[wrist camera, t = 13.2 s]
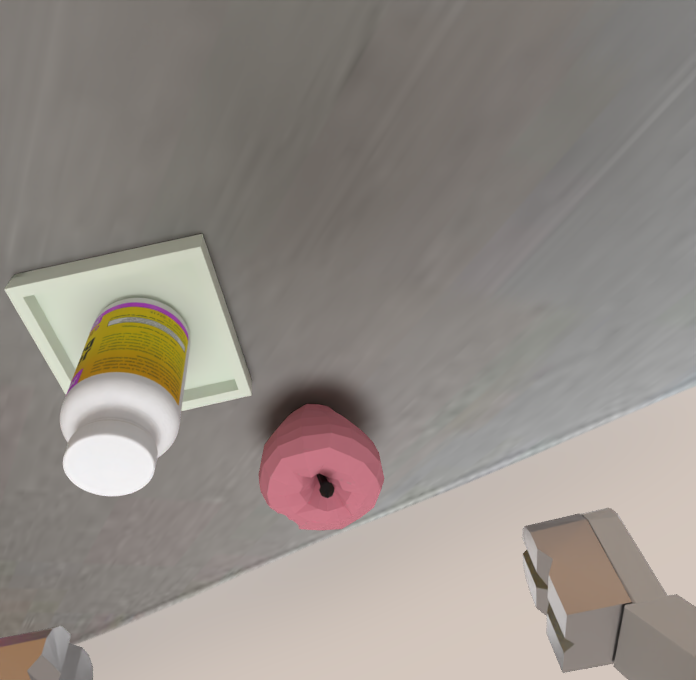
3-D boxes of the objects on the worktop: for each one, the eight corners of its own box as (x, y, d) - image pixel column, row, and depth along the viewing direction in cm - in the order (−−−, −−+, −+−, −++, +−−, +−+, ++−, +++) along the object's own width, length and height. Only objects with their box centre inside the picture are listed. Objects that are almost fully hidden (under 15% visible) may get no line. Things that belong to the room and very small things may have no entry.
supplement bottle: (93, 287, 39) (38, 414, 29) (195, 300, 41) (178, 424, 31) (93, 367, 43) (44, 506, 32) (187, 376, 44) (169, 511, 34)
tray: (202, 233, 39) (200, 246, 37) (251, 379, 46) (251, 395, 45) (14, 274, 39) (4, 289, 37) (93, 414, 46) (87, 432, 44)
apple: (236, 417, 48) (235, 515, 40) (318, 358, 46) (334, 447, 38) (311, 474, 53) (324, 571, 45) (388, 422, 51) (415, 514, 43)
